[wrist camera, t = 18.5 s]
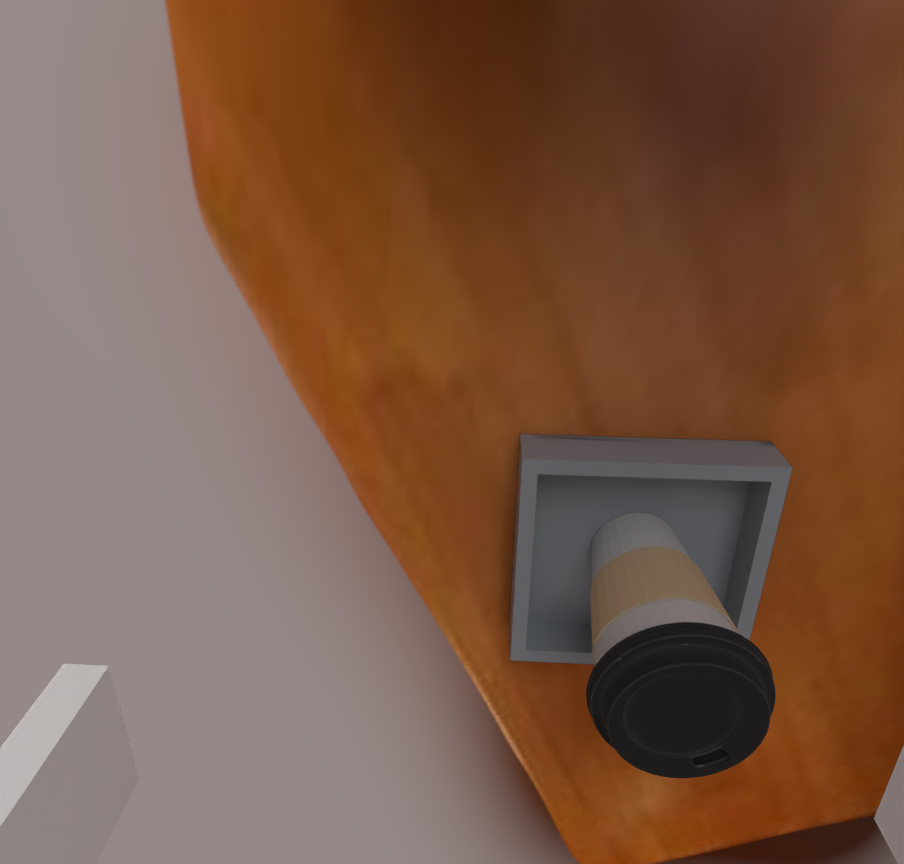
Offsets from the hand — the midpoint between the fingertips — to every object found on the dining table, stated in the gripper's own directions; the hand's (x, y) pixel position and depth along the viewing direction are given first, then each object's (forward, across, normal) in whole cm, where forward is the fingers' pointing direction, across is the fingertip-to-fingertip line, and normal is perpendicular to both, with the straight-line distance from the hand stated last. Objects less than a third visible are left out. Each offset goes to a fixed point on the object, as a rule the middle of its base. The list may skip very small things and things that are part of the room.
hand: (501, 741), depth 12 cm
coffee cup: (+32, +10, -18) cm, 38 cm away
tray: (+33, +10, -18) cm, 39 cm away
